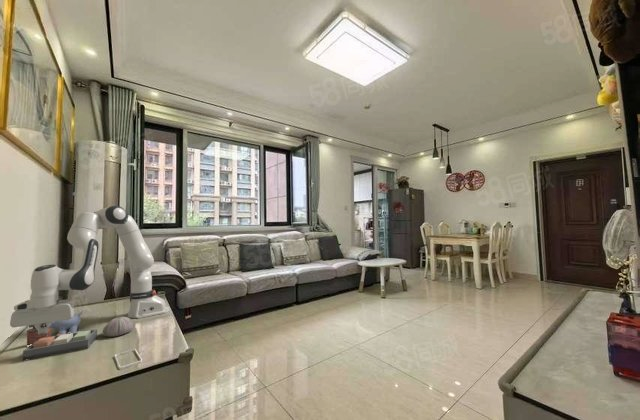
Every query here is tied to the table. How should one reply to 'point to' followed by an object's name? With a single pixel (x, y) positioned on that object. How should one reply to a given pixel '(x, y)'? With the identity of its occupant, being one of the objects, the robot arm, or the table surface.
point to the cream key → (63, 338)
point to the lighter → (36, 334)
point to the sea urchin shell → (118, 326)
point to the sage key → (81, 335)
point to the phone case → (128, 364)
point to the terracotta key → (44, 342)
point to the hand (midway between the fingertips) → (43, 333)
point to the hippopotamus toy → (67, 324)
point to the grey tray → (59, 347)
